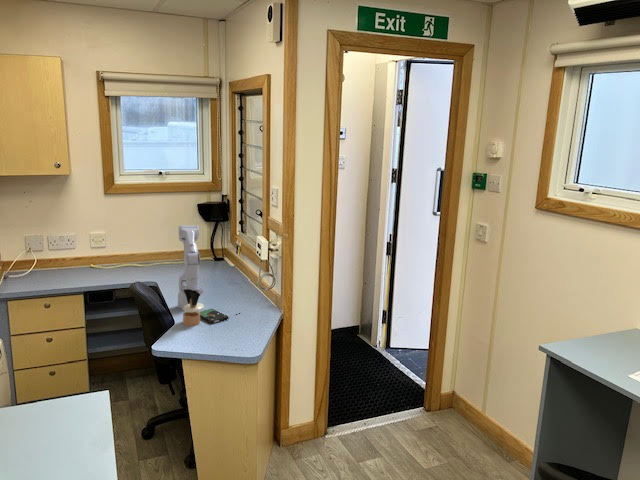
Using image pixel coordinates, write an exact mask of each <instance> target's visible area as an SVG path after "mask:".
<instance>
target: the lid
mask: <svg viewBox="0 0 640 480" xmlns="http://www.w3.org/2000/svg"><path fill="white" fill-rule="evenodd" d="M204 308H205V305H204V303H200V302H197V305H195V306H192V299H190V304H187V305H185V306H184V307H183V309H182V311H183V312H184V313H185V312H189V313H193V312H201V311H204V310H205V309H204Z"/></svg>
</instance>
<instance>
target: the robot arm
mask: <svg viewBox="0 0 640 480" xmlns="http://www.w3.org/2000/svg"><path fill="white" fill-rule="evenodd" d="M199 235H200V229H199V225H198V224H197V225H181V224H180V225H178V239H179V242H181V243H182V244H183V263H184V265H183V267H184V269H183V270H184V271H183V272H184V273H183V274H181V275H180V276H179V277H178V293H177V305H176V308H179V309H182V310H183V307H184V306H185V305H187V304H190V299H192V306H195V305H197V303H199V302H198V301H199V298H200V296H201V294H204V289H203V288H202V287H201V286H200V285H199V283H200V282H199V277H200V276H199V275H200V273H199V270H200V263H201V256H200V252H199V249H198V245H197V243H196V241H198V239H199Z"/></svg>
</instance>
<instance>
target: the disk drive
mask: <svg viewBox="0 0 640 480" xmlns="http://www.w3.org/2000/svg"><path fill="white" fill-rule="evenodd" d="M216 310H217V309H214V308H208V309H203V310H201V311H198V312H199V313H200V320H202V321H205V323H208V324H211V325H215V324H218V323H221V321H222V322H225V321H224V320H226V321H228V320H229V318H230V317H228V316H227V315H224V314H222V313H220V312H218V311H216ZM227 319H228V320H227Z"/></svg>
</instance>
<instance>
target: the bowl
mask: <svg viewBox="0 0 640 480" xmlns="http://www.w3.org/2000/svg"><path fill="white" fill-rule="evenodd" d="M199 312H200V311H198V312H193V313H189V312H185V311H184V313H182V323H183V325H184V326H188V327H193V326H194V327H195V326H197V325H200V323H201V319H200V313H199Z"/></svg>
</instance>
